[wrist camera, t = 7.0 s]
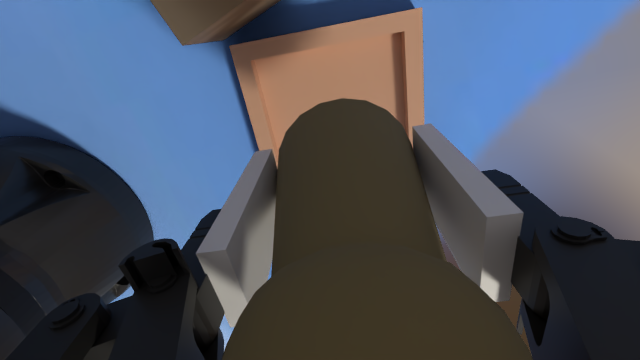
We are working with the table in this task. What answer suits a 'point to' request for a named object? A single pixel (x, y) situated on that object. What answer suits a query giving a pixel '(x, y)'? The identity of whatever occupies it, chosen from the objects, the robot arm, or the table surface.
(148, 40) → the table surface
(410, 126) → the terracotta dish
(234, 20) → the oak block
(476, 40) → the table surface
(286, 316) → the cork
